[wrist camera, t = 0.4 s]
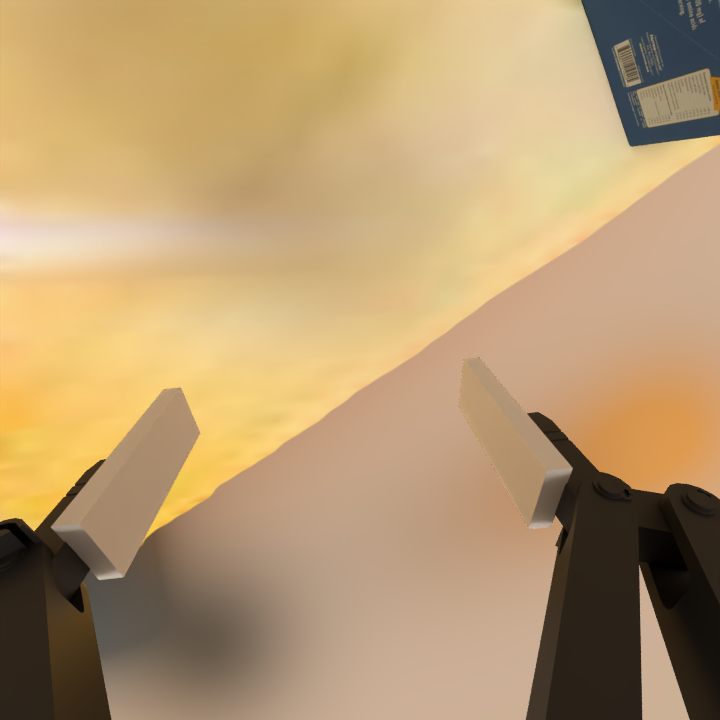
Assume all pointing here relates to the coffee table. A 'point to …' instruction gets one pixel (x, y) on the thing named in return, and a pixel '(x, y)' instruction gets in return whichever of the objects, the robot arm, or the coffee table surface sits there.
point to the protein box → (661, 65)
